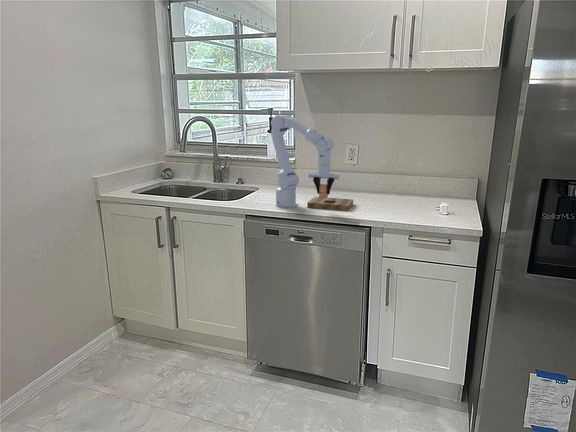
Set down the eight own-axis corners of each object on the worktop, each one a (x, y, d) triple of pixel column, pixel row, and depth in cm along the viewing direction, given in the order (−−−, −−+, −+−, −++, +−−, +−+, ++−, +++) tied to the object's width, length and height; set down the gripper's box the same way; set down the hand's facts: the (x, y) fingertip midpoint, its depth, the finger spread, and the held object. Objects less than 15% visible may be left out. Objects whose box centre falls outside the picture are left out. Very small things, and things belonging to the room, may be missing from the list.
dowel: (318, 197, 198) (318, 185, 196) (320, 195, 202) (320, 183, 200) (326, 198, 197) (326, 185, 195) (328, 196, 200) (329, 184, 199)
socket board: (307, 207, 208) (307, 202, 207) (314, 201, 221) (314, 196, 220) (347, 210, 202) (348, 205, 201) (353, 204, 214) (353, 199, 214)
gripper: (306, 165, 194) (306, 194, 197) (337, 166, 189) (336, 196, 193) (310, 163, 200) (310, 191, 204) (341, 164, 196) (340, 193, 199)
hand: (323, 193), depth 199 cm, fingers closed on dowel, 4 cm apart
